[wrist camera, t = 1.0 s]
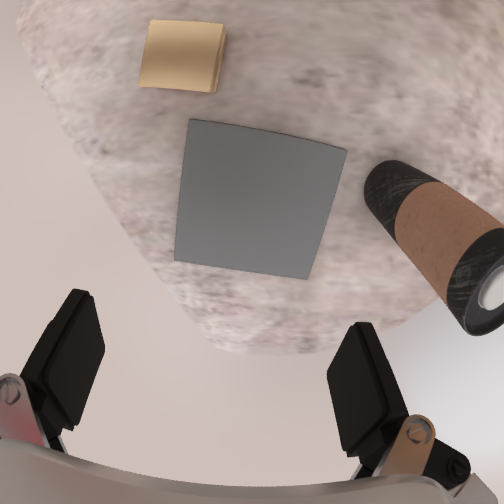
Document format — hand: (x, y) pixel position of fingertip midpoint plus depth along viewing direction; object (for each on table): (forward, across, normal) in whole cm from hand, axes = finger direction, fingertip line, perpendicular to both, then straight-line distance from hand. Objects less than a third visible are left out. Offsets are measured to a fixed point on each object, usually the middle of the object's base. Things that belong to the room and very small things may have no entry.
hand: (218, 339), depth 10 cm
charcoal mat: (+23, -3, +4) cm, 23 cm away
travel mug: (+23, -18, -1) cm, 29 cm away
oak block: (+23, +6, -10) cm, 26 cm away
